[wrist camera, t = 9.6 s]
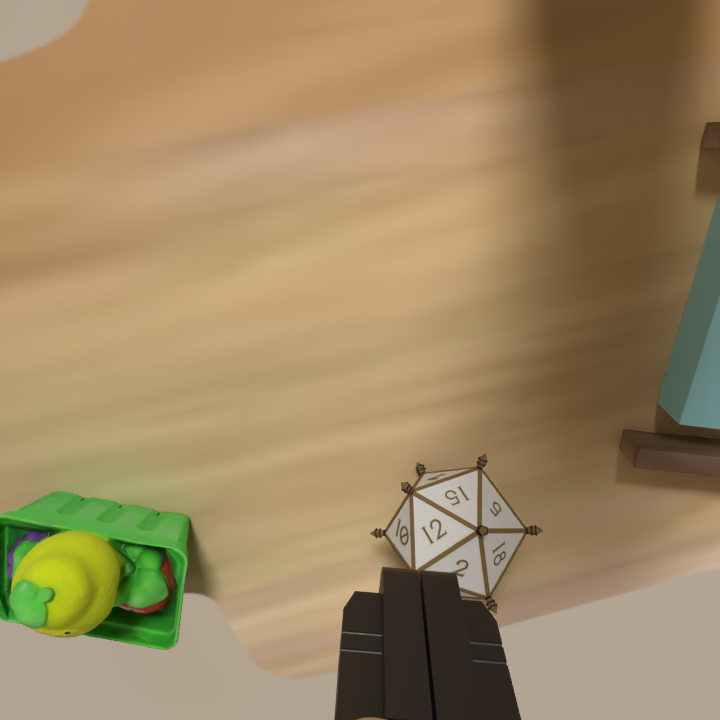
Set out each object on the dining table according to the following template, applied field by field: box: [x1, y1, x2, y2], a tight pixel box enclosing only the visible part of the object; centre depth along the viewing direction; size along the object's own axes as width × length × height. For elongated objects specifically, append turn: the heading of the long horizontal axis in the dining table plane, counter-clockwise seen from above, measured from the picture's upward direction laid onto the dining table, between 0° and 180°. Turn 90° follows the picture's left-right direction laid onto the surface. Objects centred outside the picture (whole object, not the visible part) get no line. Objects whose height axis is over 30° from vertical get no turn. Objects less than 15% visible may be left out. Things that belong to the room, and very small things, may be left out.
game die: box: [370, 453, 543, 614], centre depth 37 cm, size 9×8×10 cm
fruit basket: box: [0, 491, 190, 650], centre depth 37 cm, size 11×9×11 cm
